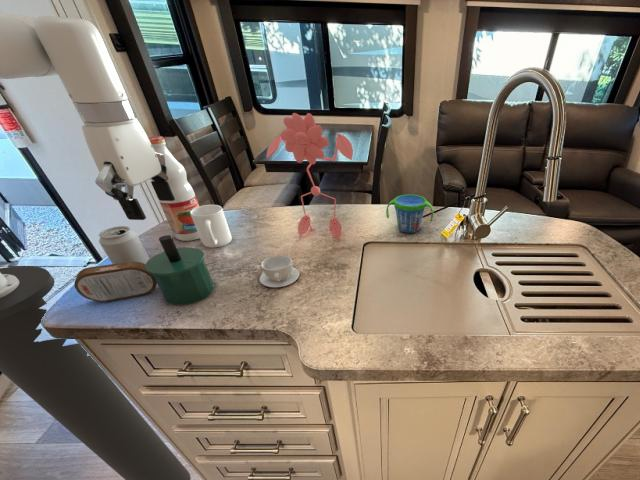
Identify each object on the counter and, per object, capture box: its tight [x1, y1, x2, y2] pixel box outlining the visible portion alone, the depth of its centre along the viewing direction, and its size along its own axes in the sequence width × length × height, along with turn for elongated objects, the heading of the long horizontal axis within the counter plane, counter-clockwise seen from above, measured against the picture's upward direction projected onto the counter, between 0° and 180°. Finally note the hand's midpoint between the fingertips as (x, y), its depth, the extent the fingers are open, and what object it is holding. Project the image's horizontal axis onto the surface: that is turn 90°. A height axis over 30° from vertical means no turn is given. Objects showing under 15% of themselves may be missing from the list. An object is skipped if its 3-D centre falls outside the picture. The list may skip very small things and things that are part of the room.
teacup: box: [259, 254, 300, 288], centre depth 82 cm, size 10×10×5 cm
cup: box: [190, 204, 233, 249], centre depth 94 cm, size 8×12×10 cm
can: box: [98, 225, 151, 264], centre depth 80 cm, size 8×8×12 cm
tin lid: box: [145, 234, 206, 276], centre depth 71 cm, size 12×12×7 cm
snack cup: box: [385, 193, 434, 234], centre depth 106 cm, size 16×10×10 cm
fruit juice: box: [147, 135, 200, 242], centre depth 93 cm, size 9×9×28 cm
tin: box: [73, 261, 158, 303], centre depth 73 cm, size 15×3×8 cm, turn 113°
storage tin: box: [153, 259, 215, 306], centre depth 75 cm, size 10×10×8 cm
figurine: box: [265, 112, 354, 253], centre depth 90 cm, size 15×26×35 cm, turn 80°
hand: (153, 209), depth 65 cm, fingers open, 9 cm apart
